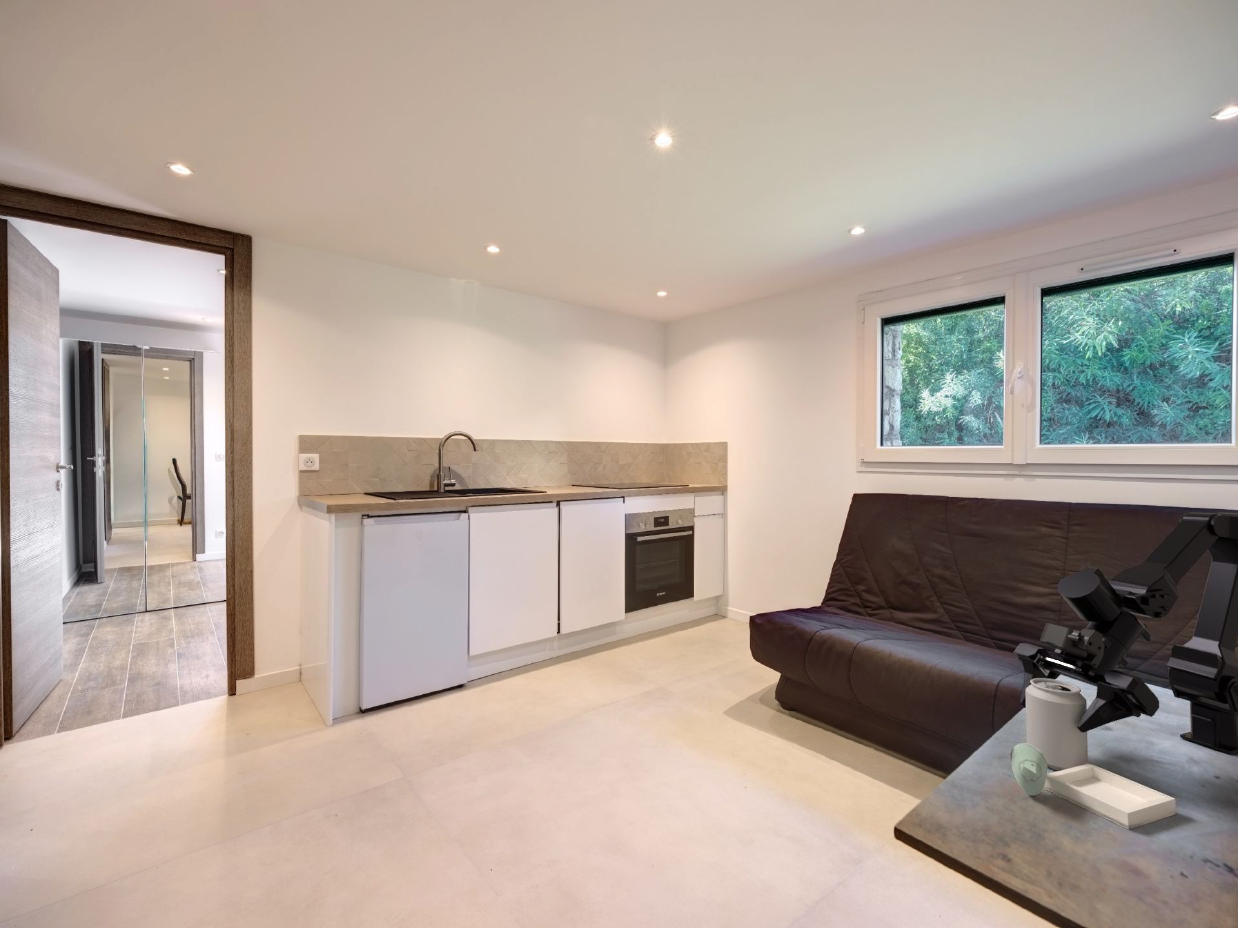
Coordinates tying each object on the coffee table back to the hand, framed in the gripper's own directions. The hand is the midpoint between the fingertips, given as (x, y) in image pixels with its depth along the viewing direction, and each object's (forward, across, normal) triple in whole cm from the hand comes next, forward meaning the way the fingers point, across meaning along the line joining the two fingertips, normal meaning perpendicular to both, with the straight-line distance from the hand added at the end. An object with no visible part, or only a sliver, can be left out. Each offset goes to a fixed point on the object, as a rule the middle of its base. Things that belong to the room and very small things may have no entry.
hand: (1049, 717), depth 86 cm
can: (+4, 0, +6) cm, 7 cm away
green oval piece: (+13, +7, -3) cm, 15 cm away
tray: (+7, +10, +3) cm, 12 cm away
